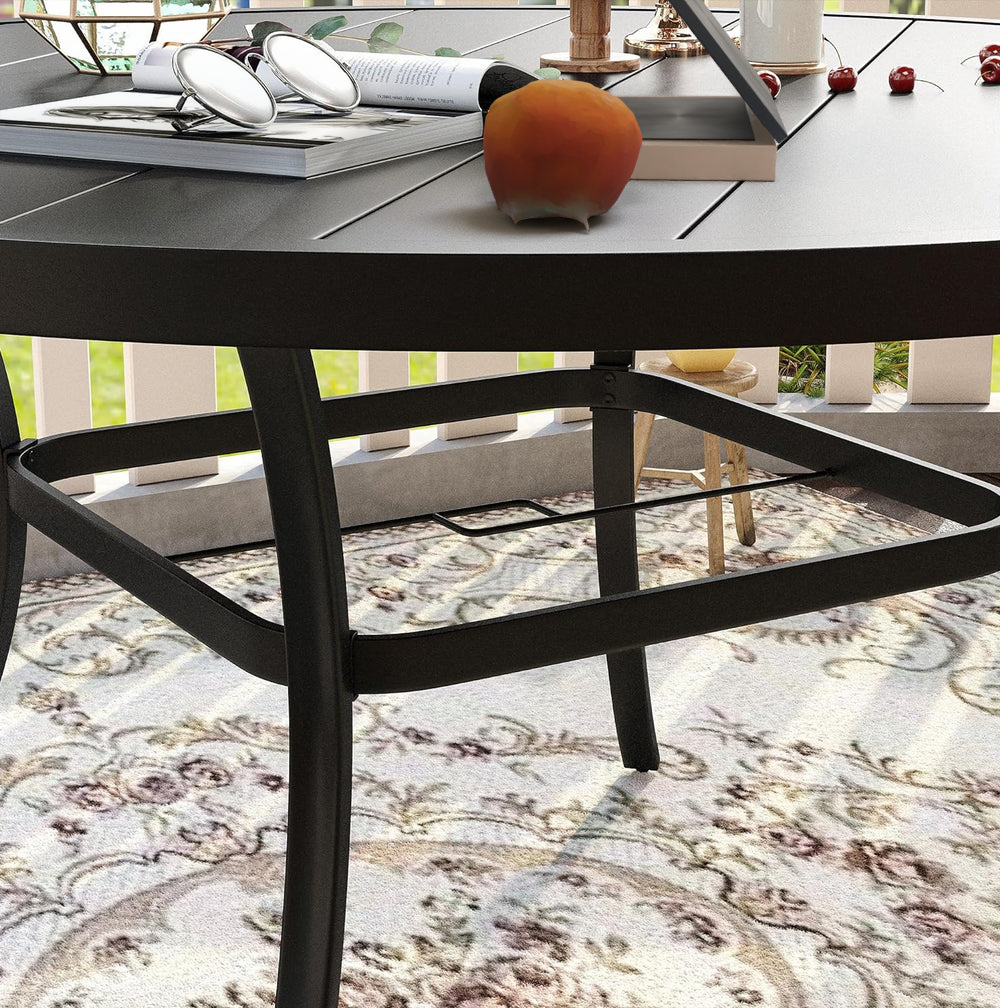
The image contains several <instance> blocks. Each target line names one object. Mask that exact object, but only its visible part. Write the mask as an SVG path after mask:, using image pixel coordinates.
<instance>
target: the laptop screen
mask: <svg viewBox="0 0 1000 1008" xmlns="http://www.w3.org/2000/svg"><path fill="white" fill-rule="evenodd" d="M667 2H668V3H669V4H670V6H671V7H672V9H674V11H675V12H676V14H678V16H679V18H680V19H681V20H682V21H683V23H684V24H685V25H686V26H687V28H688V29H689V30H690V32H691V33H692V35H693V36H694V37H695V38H696V40H697V41H698V42H699V44H700V45H701V46H702V47H703V49H704V50H705V51H706V53H707V54H708V55H709V57H711V59H712V60H713V62H714V63H715V65H716V66H717V67H718V68H719V70H720V71H721V72H722V74H723V75H724V76H725V78H726V79H727V80H728V81H729V83H730V84H731V85H732V87H733V88H734V89H735V90H736V92H737V93H738V95H739V96H741V97H742V98H743V100H744V101H745V102H746V103H747V105H748V106H749V107H750V109H751V110H752V111H753V113H754V114H755V115H756V117H757V118H758V119H759V120H760V122H761V123H762V124H763V126H764V127H766V128H767V130H768V131H769V132H770V134H771V135H772V136H773V138H774V139H775V142H776V144H781V143H783V142H784V141H785V140H786V139H788V137H789V135H788V132H787V130H786V127H785V124H784V123H783V120H782V118H781V115H780V113H779V110H778V107H777V106H776V103H775V101H774V99H773V96H772V93H771V91H770V89H769V86H768V85H767V84H766V83H765V81H764V80H763V78H762V77H761V76H760V74H759V73H758V72H757V70H755V68H754V66H753V65H752V64H751V63H750V62H749V60H748V59H747V58H746V56H745V55H744V53H742V51H741V50H740V48H739V47H738V45H737V44H736V43H735V42H734V41H733V39H732V38H731V36H730V35H729V33H727V31H726V30H725V28H724V27H723V26H722V25H721V23H720V22H719V21H718V19H717V18H716V17H715V16H714V14H713V12H712V11H711V10H710V8H708V6H707V5H706V3H705V1H703V0H667Z"/></svg>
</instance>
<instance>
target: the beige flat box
mask: <svg viewBox="0 0 1000 1008" xmlns="http://www.w3.org/2000/svg"><path fill="white" fill-rule="evenodd" d="M613 95H614V96H616V97H617V98H619V99H620V100H621V101H622V102H624V104H625V105H626V106H627V107H628V108H629V109H630V110H631V111H632V112H633V114H634V116H635V118H636V121H637V123H638V126H639V128H640V131H641V135H642V146H641V149H640V152H639V156H638V159H637V162H636V165H635V168H634V171H633V174H632V175H631V177H630V179H629V180H664V181H665V180H667V181H668V180H669V181H670V180H671V181H674V180H675V181H677V180H678V181H757V182H758V181H760V182H762V181H763V182H764V181H766V182H767V181H768V182H774V181H775V180H776V169H777V156H778V155H777V154H778V145H777V142H776V140H775V139H774V138H773V136H772V135H771V134H770V132H769V131H768V130H767V128H766V127H764V126H763V124H762V123H761V122H760V120H759V119H758V118H757V117H756V115H755V114H754V113H753V111H752V110H751V109H750V107H749V106H748V105H747V103H746V102H745V101H744V100H743V98H742V97H741V96H740V95H652V94H651V95H641V94H640V95H635V94H634V95H633V94H632V95H631V94H630V95H626V94H625V95H624V94H621V95H620V94H619V95H617V94H616V95H615V94H613Z"/></svg>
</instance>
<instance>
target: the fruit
mask: <svg viewBox="0 0 1000 1008" xmlns="http://www.w3.org/2000/svg"><path fill="white" fill-rule="evenodd" d="M614 95H615V94H613V93H611V92H609V91H608V90H607V91H606V90H604V89H601V88H600V87H597V86H595V85H593V84H592V83H590V82H585V81H580V80H573V79H564V78H563V79H560V78H540V79H538V80H534V81H531V82H528V84H526V85H523V86H522V87H520V88H518V89H515V90H513V91H510V92H507V93H506V94H503V95H501V96H500V97H497V98H496V99H495V100H494V101H493V102H492V103H491V105H490V107H489V108H488V112H487V114H486V116H485V120H484V127H483V139H482V144H483V162H484V163H483V164H484V170H485V175H486V179H487V182H488V184H489V187H490V190H491V192H492V196H493V198H494V201H495V204H496V206H497V210H498V211H499V212H500V213H503V214H505V215H507V216H509V217H510V218H511V220H512V221H513V226H515V225H516V224H517V223H518V222H520V221H522V220H528V219H537V218H538V219H541V218H568V219H572V220H575V221H578V222H579V223H580V224H583V226H584V227H585V229H586V231H587V232H588V233H590V232H591V231H590V226H589V222H588V219H589V218H590V217H597V216H602V215H605V214H606V213H608V212H610V210H611V209H612V208H613V206H614V205H615V204H616V202H618V200H619V198H620V196H621V195H622V194H623V191H624V189H625V187H626V186H627V184H628V183H629V181H630V180H631V179H630V177H631V175H632V174H633V171H634V168H635V165H636V162H637V159H638V156H639V152H640V149H641V146H642V135H641V131H640V128H639V126H638V123H637V121H636V118H635V116H634V114H633V112H632V111H631V110H630V109H629V108H628V107H627V106H626V105H625V104H624V102H622V101H621V100H620V99H619V98H617V97H616V96H614Z"/></svg>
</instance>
